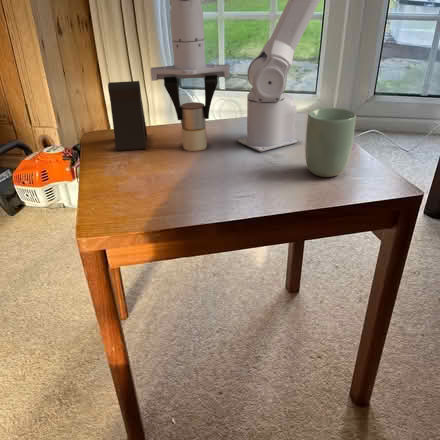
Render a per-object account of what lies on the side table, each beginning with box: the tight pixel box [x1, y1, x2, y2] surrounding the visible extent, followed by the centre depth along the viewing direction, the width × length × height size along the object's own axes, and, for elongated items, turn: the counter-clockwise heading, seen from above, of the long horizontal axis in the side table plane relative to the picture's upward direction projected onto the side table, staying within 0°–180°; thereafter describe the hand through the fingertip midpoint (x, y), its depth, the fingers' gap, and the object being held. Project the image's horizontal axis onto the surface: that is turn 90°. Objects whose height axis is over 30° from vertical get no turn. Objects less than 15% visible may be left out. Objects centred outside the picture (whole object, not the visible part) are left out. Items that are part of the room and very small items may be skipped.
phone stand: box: [107, 80, 148, 152], centre depth 92 cm, size 9×6×12 cm, turn 5°
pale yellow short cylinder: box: [181, 126, 208, 152], centre depth 91 cm, size 5×5×4 cm
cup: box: [304, 107, 357, 178], centre depth 76 cm, size 8×8×10 cm
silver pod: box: [180, 101, 207, 130], centre depth 89 cm, size 5×5×4 cm
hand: (193, 118), depth 89 cm, fingers closed on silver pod, 5 cm apart
